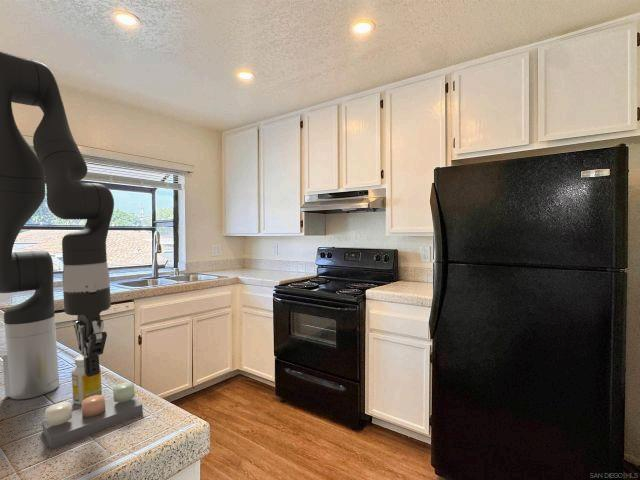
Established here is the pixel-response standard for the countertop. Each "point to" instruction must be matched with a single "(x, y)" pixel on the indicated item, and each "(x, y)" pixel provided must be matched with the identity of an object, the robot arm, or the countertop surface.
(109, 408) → the button panel
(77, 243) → the robot arm
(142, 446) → the countertop surface
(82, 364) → the supplement bottle
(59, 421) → the cream button
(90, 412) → the terracotta button
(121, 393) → the sage button
